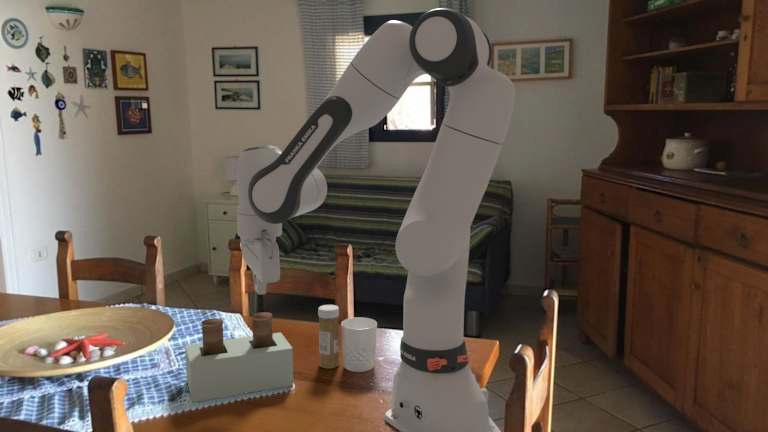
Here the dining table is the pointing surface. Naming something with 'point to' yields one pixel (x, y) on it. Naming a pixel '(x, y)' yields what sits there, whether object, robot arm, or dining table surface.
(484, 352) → the dining table surface
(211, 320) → the peg
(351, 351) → the white cup
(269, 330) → the peg
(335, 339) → the sprinkles bottle
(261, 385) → the block
